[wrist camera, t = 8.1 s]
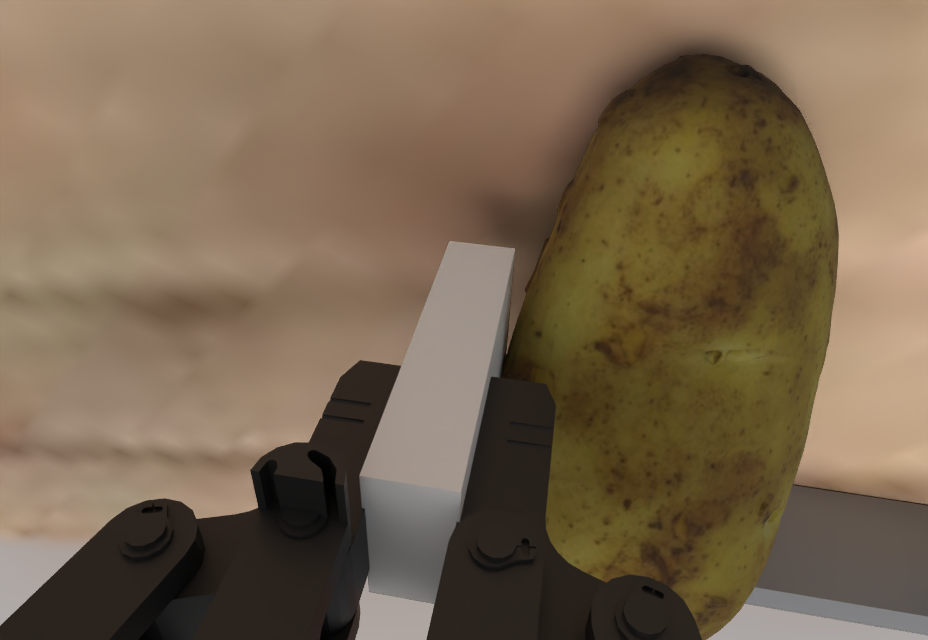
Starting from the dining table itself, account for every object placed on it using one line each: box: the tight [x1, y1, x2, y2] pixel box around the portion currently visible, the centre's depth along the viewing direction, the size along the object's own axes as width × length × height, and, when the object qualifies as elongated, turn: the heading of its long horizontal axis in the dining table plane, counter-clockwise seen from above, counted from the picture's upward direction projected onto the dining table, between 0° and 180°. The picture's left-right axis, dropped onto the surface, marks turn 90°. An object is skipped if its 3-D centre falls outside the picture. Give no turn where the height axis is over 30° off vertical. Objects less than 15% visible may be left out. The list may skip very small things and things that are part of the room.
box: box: [744, 485, 928, 635], centre depth 16 cm, size 15×18×4 cm
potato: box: [501, 54, 839, 640], centre depth 16 cm, size 8×13×8 cm, turn 157°
